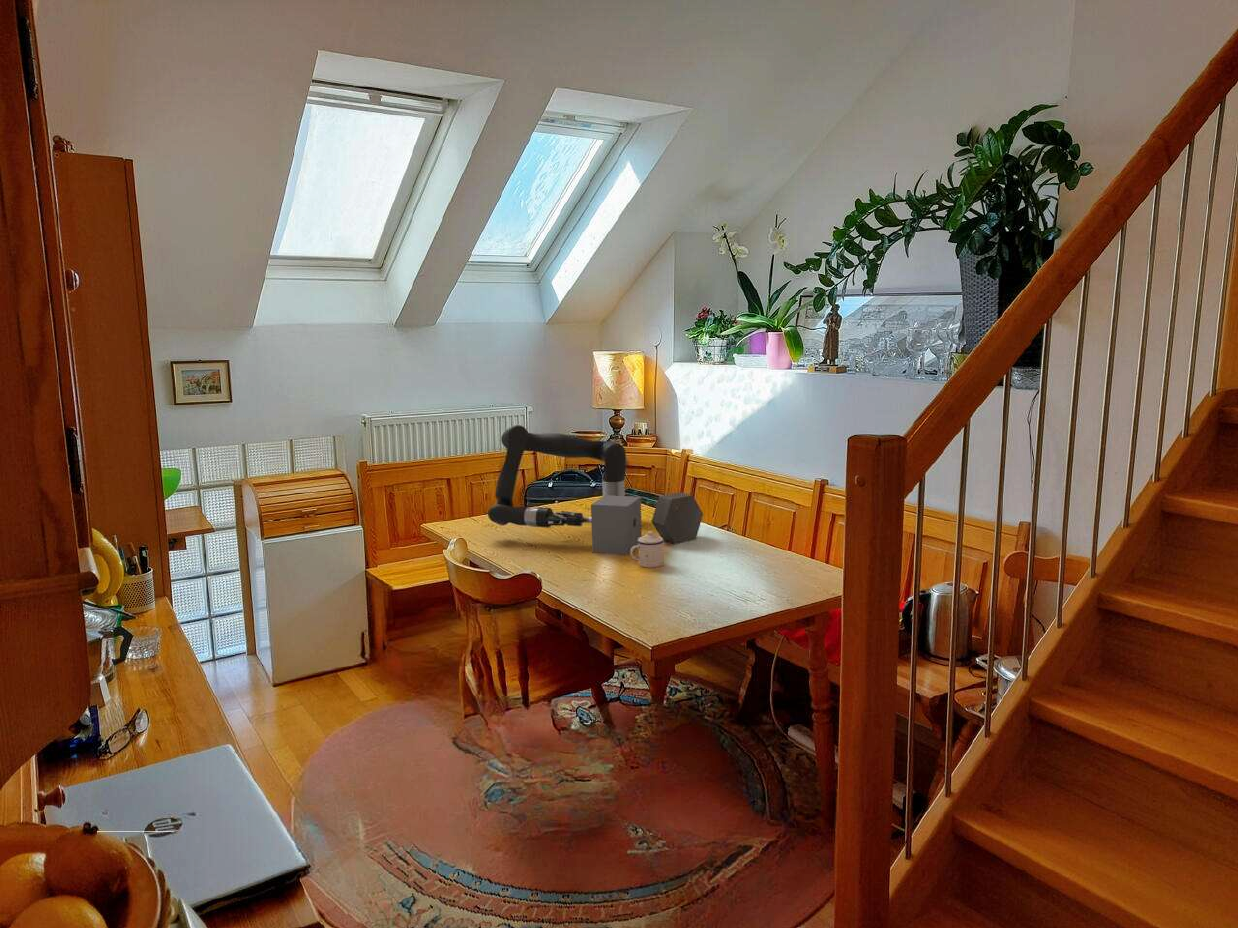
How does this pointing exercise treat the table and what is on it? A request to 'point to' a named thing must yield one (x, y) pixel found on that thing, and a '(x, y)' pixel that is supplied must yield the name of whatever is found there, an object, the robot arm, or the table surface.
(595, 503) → the block
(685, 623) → the table surface
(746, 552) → the table surface
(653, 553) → the teacup with lid
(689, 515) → the dark grey hexagonal block
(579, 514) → the plunger
